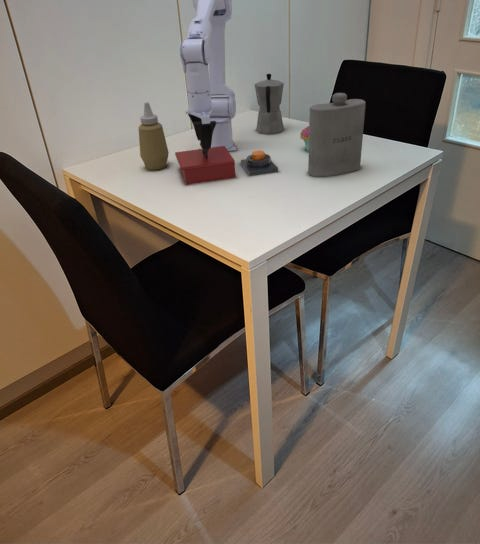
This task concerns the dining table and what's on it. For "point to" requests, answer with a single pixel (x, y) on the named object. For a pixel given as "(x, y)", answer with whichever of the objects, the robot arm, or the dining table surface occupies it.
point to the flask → (336, 136)
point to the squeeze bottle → (152, 141)
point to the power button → (258, 155)
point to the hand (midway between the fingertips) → (204, 143)
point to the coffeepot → (269, 106)
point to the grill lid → (204, 157)
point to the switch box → (258, 165)
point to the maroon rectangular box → (209, 173)
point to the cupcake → (305, 137)
